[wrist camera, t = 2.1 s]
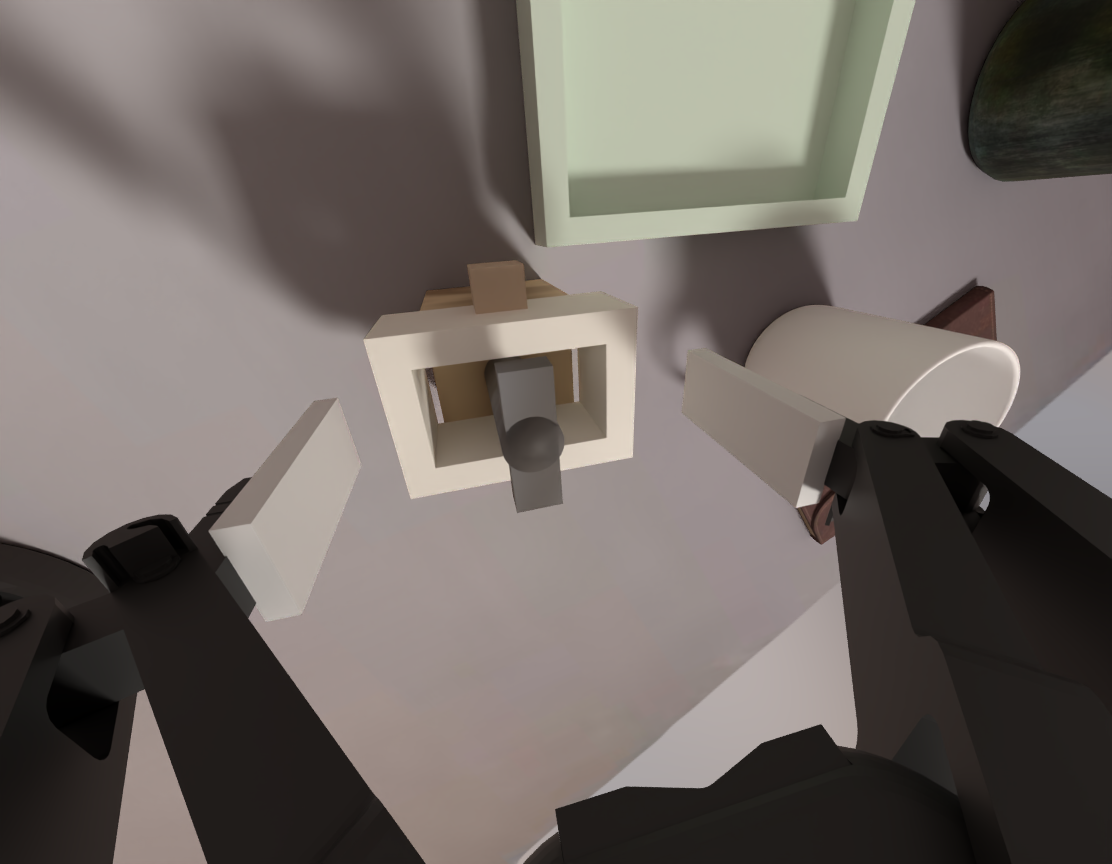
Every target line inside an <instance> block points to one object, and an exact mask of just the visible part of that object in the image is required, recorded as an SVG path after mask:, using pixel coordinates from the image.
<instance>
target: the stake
mask: <svg viewBox="0 0 1112 864" xmlns="http://www.w3.org/2000/svg"><path fill="white" fill-rule="evenodd" d="M525 285H526V295H527V299H536V298H545V297H554V296H564V295H568V294H566V293H565V292H563V291H561V290H560V289H558V288H556V287H554V286H553V285H551V284H549V283H547V282H546V281H544V280H542V279H538V280H528V281H525ZM471 305H473V300H472V294H471V288H470V286H467V287H457V288H447V289H437V290H427V291H426V294H425V297H424V300H423V303H422V306H421V309H420V311H425V310H434V309H443V308H453V307H462V306H471ZM432 369H433V373H434V378H435V382H436V387H437V391H438V396H439V400H440V405H441V409H442V414H443V418H444V423H446V422H452V421H459V420H465V419H471V418H478V417H484V416H490V415H494V419H495V423H496V428H497V432H498V436H499V441H500V445H501V449H502V453H503V456H504V459H505V460H506V462H507V463H508V464H509V470H510V477H511V484H512V491H513V497H514V501H515V505H516V510H517V513H519V512H524V511H529V510H534V509H538V508H543V507H548V506H553V505H558V504H563V500H562V486H561V472H560V456H561V454H562V452H563V449H564V435H563V432H562V430H561V428H560V426H559V425H558V423H557V414H556V405H560V404H566V403H573V402H574V395H573V373H572V351H571V349H566V350H558V351H551V352H543V353H536V354H528V355H521V356H513V357H506V358H498V359H491V360H483V361H476V362H468V363H461V364H453V365H446V366H438V367H432Z"/></svg>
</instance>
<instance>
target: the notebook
mask: <svg viewBox="0 0 1112 864" xmlns="http://www.w3.org/2000/svg"><path fill="white" fill-rule="evenodd" d="M924 326H928V327H933V328H938V329H943V330H947V331H952V332H957V333H961V334H966V335H971V336H976V337H980V338H985V339H990V340H995V341H997V337H996V318H995V299H994V291H993V290H991V289H990V288H987V287H984V286H976V287H975V288H973V289H972V290H971V291H969V292H968V293H967V294H965V295H964V296H963V297H961V298H960V299H958V300H957V301H956V302H954V303H953V304H952V305H950V306H949V307H948V308H946V309H945V310H944V311H942V312H941V313H940V314H938V315H937V316H935V317H934V318H933V319H931V320H930V321H929V322H927V323H926V324H925V325H924ZM835 493H836V492H834V491H833V490H832V489H830V488H829V487H827V486H826V485H825V486H824V489H823V492H822V495H821V498H820V501H819V503H816V504H812V505H807V506H803V507H798V508H797V509H798V511H799V512H800V514H801V516H802V518H803V520H804V522H805V524H806V526H807V528H808V530H809V532H810V533H811V535H810V536H811V537H812V538H813V539H814V540H815V541H817V542H818V543H820V544H823V543H825V542H826V541H828V540H829V539H830V538H832V537H833V536H835V528H834V521H831V523H830V525H829V526H827V525H825V522H826V519H827V516H828V513H829V510H830V507H831V504H832V501H833V498H834V496H835Z"/></svg>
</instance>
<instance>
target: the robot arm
mask: <svg viewBox="0 0 1112 864" xmlns="http://www.w3.org/2000/svg"><path fill="white" fill-rule="evenodd" d="M682 413H683V414H684V415H685V416H686V417H687V418H689V419H690V420H691V421H692V422H693V423H695V424H696V425H697V426H698V427H699V428H701V429H702V430H703V431H704V432H705V433H707V434H708V435H709V436H710V437H711V438H713V439H714V440H715V441H716V442H717V443H719V444H720V445H721V446H722V447H723V448H725V449H726V450H727V451H728V452H729V453H731V454H732V455H733V456H734V457H735V458H737V459H738V460H739V461H740V462H741V463H743V464H744V465H745V466H746V467H747V468H749V469H750V470H751V471H752V472H753V473H755V474H756V475H757V476H758V477H759V478H760V479H762V480H763V481H764V482H765V483H766V484H768V485H769V486H770V487H771V488H772V489H774V490H775V491H776V492H777V493H778V494H780V495H781V496H782V497H783V498H784V499H786V500H787V501H788V502H789V503H790V504H792V505H793V506H794V507H795V508H798V507H803V506H807V505H812V504H816V503H819V501H820V498H821V495H822V492H823V489H824V486H825V485H826V486H827V487H829V488H830V489H832V490H833V491H834V492H836V493H835V496H834V498H833V501H832V504H831V507H830V510H829V513H828V516H827V519H826V522H825V525H827V526H829V525H830V523H831V521H834V528H835V537H836V545H837V554H838V563H839V571H840V580H841V588H842V597H843V605H844V614H845V622H846V630H847V640H848V648H849V657H850V665H851V674H852V682H853V691H854V699H855V708H856V717H857V727H858V737H857V745H856V749H853V748H847V747H842V746H837V745H836V744H835V742H834V741H833V740H832V738H831V737H830V736H829V734H828V733H827V731H826V730H825V729H824V727H823V726H822V725H817V726H814V727H811V728H808V729H805V730H801V731H799V732H796V733H792V734H789V735H786V736H783V737H780V738H776V739H773V740H770V741H767V742H764V743H761V744H760V745H759V746H758V747H757V748H756V749H754V750H753V751H752V752H750V754H748V755H747V756H746V757H745V758H743V759H742V760H741V761H740V762H739V763H737V764H736V765H735V766H734V767H732V768H731V769H730V770H729V771H728V772H726V773H725V774H724V775H723V776H722V777H720V778H719V779H718V780H717V781H715V782H714V783H713V784H712V785H710V786H708V787H705V788H662V787H623V788H620V789H617V790H614V791H611V792H608V793H605V794H601V795H598V796H595V797H592V798H589V799H586V800H583V801H580V802H576V803H573V804H570V805H567V806H564V807H561V808H558V809H555V811H556V818H557V824H558V830H559V833H558V832H557V833H556V834H554V835H553V836H552V837H550V838H549V839H548V840H546V841H545V842H544V843H542V844H541V846H540V847H539V848H538V849H536V851H535V852H534V853H533V854H532V855H531V856H530V857H529V858H528V859H527V860H526V861H525V862H524V863H523V864H1112V499H1111V498H1110V497H1108V496H1107V495H1105V494H1104V493H1102V492H1100V491H1099V490H1098V489H1096V488H1094V487H1093V486H1091V485H1090V484H1088V483H1087V482H1085V481H1084V480H1082V479H1081V478H1079V477H1078V476H1076V475H1075V474H1073V473H1071V472H1070V471H1068V470H1067V469H1065V468H1064V467H1062V466H1061V465H1059V464H1058V463H1056V462H1055V461H1053V460H1052V459H1050V458H1048V457H1047V456H1045V455H1044V454H1042V453H1041V452H1039V451H1037V450H1036V449H1034V448H1033V447H1032V446H1030V445H1029V444H1027V443H1025V442H1024V441H1022V440H1021V439H1019V438H1018V437H1016V436H1015V435H1013V434H1012V433H1010V432H1008V431H1006V430H1004V429H1002V428H999V427H996V426H993V425H992V424H990V423H987V422H981V421H977V420H972V421H968V420H952V421H949V422H946V424H945V426H944V428H943V430H942V432H941V434H940V437H920V435H919V434H918V433H917V432H916V431H914V430H912V429H911V428H908V427H906V426H903V425H900V424H897V423H893V422H887V421H877V420H870V421H864V422H861V423H857V422H855V421H853V420H850V419H848V418H846V417H844V416H842V415H840V414H838V413H836V412H834V411H832V410H830V409H828V408H825V407H824V406H822V405H820V404H818V403H815V402H814V401H812V400H810V399H808V398H806V397H804V396H802V395H799V394H797V393H795V392H793V391H791V390H789V389H787V388H785V387H783V386H781V385H779V384H777V383H775V382H773V381H771V380H769V379H767V378H765V377H763V376H761V375H759V374H757V373H755V372H753V371H751V370H749V369H747V368H745V367H743V366H741V365H739V364H737V363H735V362H732V361H730V360H728V359H726V358H724V357H722V356H720V355H718V354H716V353H714V352H712V351H710V350H708V349H706V348H702V349H695V350H688V355H687V365H686V375H685V385H684V396H683V406H682ZM360 467H361V462H360V459H359V456H358V453H357V451H356V448H355V445H354V442H353V439H352V437H351V434H350V431H349V428H348V425H347V422H346V420H345V417H344V414H343V411H342V408H341V406H340V403H339V400H338V398H333V399H325V400H318V401H314V402H313V403H312V404H311V405H310V407H309V408H308V409H307V410H306V411H305V413H304V414H303V415H302V416H301V418H300V419H299V420H298V421H297V423H296V424H295V425H294V426H293V427H292V429H291V430H290V431H289V432H288V434H287V435H286V436H285V437H284V439H283V440H282V441H281V442H280V443H279V445H278V446H277V447H276V448H275V450H274V451H273V452H272V453H271V455H270V456H269V457H268V458H267V459H266V461H265V462H264V463H263V464H262V466H261V467H260V468H259V469H258V471H257V472H256V473H255V474H254V475H253V477H250V478H244V479H243V480H241V481H240V482H238V483H237V484H236V485H234V486H233V487H231V488H230V489H228V490H227V491H226V492H225V493H224V494H223V495H222V497H221V498H220V499H219V500H218V501H217V502H216V503H215V504H216V506H213V507H212V508H211V509H210V510H209V512H208V513H207V514H206V517H203V518H202V520H201V521H200V522H199V523H198V524H197V525H196V527H195V528H194V529H193V530H192V531H191V532H190V533H189V534H188V533H187V531H186V530H185V528H184V527H183V525H182V524H181V522H180V521H179V519H178V518H177V517H175V516H173V515H155V516H151V517H146V518H142V519H139V520H137V521H134V522H131V523H128V524H126V525H124V526H122V527H120V528H118V529H115V530H113V531H111V532H109V533H108V534H106V535H105V536H103V537H102V538H100V539H99V540H97V541H96V542H94V543H93V544H92V545H91V546H90V547H89V548H88V549H87V550H86V551H85V552H84V555H83V558H82V561H83V562H84V563H85V564H86V566H87V567H88V568H89V569H90V570H91V571H92V572H93V574H94V575H93V574H91V573H90V572H88V571H86V570H84V569H81V568H79V567H77V566H75V565H73V564H70V563H68V562H65V561H63V560H60V559H57V558H54V557H52V556H48V555H45V554H42V553H39V552H35V551H31V550H28V549H23V548H19V547H15V546H10V545H4V544H0V864H113V857H114V850H115V843H116V836H117V829H118V822H119V815H120V808H121V801H122V794H123V788H124V781H125V774H126V767H127V760H128V753H129V746H130V739H131V732H132V725H133V718H134V711H135V704H136V697H137V692H139V691H141V690H144V689H145V691H146V694H147V696H148V699H149V702H150V705H151V707H152V710H153V713H154V716H155V719H156V721H157V724H158V727H159V730H160V733H161V735H162V738H163V741H164V744H165V747H166V749H167V752H168V755H169V758H170V760H171V763H172V766H173V769H174V772H175V774H176V777H177V780H178V783H179V786H180V788H181V791H182V794H183V797H184V800H185V802H186V805H187V808H188V811H189V813H190V816H191V819H192V822H193V825H194V827H195V830H196V833H197V836H198V839H199V841H200V844H201V847H202V850H203V852H204V855H205V858H206V861H207V864H425V862H424V861H423V859H422V858H421V857H420V855H419V854H418V852H417V851H416V850H415V848H414V847H413V845H412V844H411V843H410V841H409V840H408V839H407V837H406V836H405V834H404V833H403V832H402V830H401V829H400V827H399V826H398V825H397V823H396V822H395V820H394V819H393V818H392V816H391V815H390V814H389V812H388V811H387V809H386V808H385V807H384V805H383V804H382V803H381V802H380V800H379V799H378V798H377V797H376V796H375V795H374V794H373V792H372V791H371V790H370V788H369V787H368V785H367V784H366V783H365V781H364V780H363V778H362V777H361V776H360V774H359V773H358V771H357V770H356V769H355V767H354V766H353V764H352V763H351V762H350V760H349V759H348V757H347V756H346V755H345V753H344V752H343V750H342V749H341V748H340V746H339V745H338V743H337V742H336V741H335V739H334V738H333V736H332V735H331V734H330V732H329V731H328V729H327V728H326V727H325V725H324V724H323V723H322V721H321V720H320V718H319V717H318V716H317V714H316V713H315V711H314V710H313V709H312V707H311V706H310V704H309V703H308V702H307V700H306V699H305V697H304V696H303V695H302V693H301V692H300V690H299V689H298V688H297V686H296V685H295V683H294V682H293V681H292V679H291V678H290V676H289V675H288V674H287V672H286V671H285V669H284V668H283V667H282V665H281V664H280V662H279V661H278V660H277V658H276V657H275V655H274V654H273V653H272V651H271V650H270V648H269V647H268V646H267V644H266V643H265V641H264V640H263V639H262V637H261V636H260V634H259V633H258V632H257V630H256V629H255V627H254V626H253V625H252V623H251V622H250V621H249V619H248V618H249V616H250V614H251V612H252V610H253V608H254V606H255V605H256V607H257V609H258V610H259V612H260V613H261V615H262V616H263V618H264V620H265V621H266V622H269V621H273V620H278V619H283V618H287V617H292V616H297V615H301V614H302V613H303V611H304V608H305V606H306V603H307V601H308V598H309V596H310V593H311V590H312V588H313V585H314V583H315V580H316V578H317V575H318V573H319V570H320V568H321V565H322V563H323V560H324V558H325V555H326V553H327V550H328V548H329V545H330V543H331V540H332V538H333V535H334V533H335V530H336V528H337V525H338V523H339V520H340V518H341V515H342V513H343V510H344V508H345V505H346V503H347V500H348V498H349V495H350V493H351V490H352V487H353V485H354V482H355V480H356V477H357V475H358V472H359V470H360ZM987 491H989V494H990V502H989V505H988V507H987V509H986V511H984V510H983V509H982V508H981V507H980V506H979V505H980V503H981V502H982V500H983V498H984V496H985V494H986V493H987ZM559 837H560V838H559Z"/></svg>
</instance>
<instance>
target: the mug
mask: <svg viewBox="0 0 1112 864" xmlns="http://www.w3.org/2000/svg"><path fill="white" fill-rule="evenodd" d="M745 368H747V369H749V370H751V371H753V372H755V373H757V374H759V375H761V376H763V377H765V378H767V379H769V380H771V381H773V382H775V383H777V384H779V385H781V386H783V387H785V388H787V389H789V390H791V391H793V392H795V393H797V394H799V395H802V396H804V397H806V398H808V399H810V400H812V401H814V402H815V403H818V404H820V405H822V406H824V407H825V408H828V409H830V410H832V411H834V412H836V413H838V414H840V415H842V416H844V417H846V418H848V419H850V420H853V421H855V422H857V423H861V422H864V421H870V420H877V421H887V422H893V423H897V424H900V425H903V426H906V427H908V428H911V429H912V430H914V431H916V432H917V433H918V434H919V435H920V437H940V434H941V432H942V430H943V428H944V426H945V424H946V422H949V421H952V420H968V421H972V420H977V421H981V422H987V423H990V424H992V425H993V426H996V427H999V426H1000V424H1001V423H1002V421H1003V420H1004V418H1005V416H1006V415H1007V413H1008V411H1009V409H1010V407H1011V405H1012V403H1013V401H1014V398H1015V395H1016V392H1017V389H1018V385H1019V380H1020V364H1019V360H1018V357H1017V355H1016V353H1015V352H1014V351H1013V350H1012V349H1011V348H1010V347H1009V346H1007V345H1006V344H1004V343H1002V342H998V341H995V340H990V339H985V338H980V337H976V336H971V335H966V334H961V333H957V332H952V331H947V330H943V329H938V328H933V327H928V326H924V325H919V324H914V323H909V322H905V321H900V320H895V319H891V318H886V317H881V316H876V315H872V314H867V313H862V312H857V311H853V310H848V309H843V308H838V307H833V306H826V305H807V306H803V307H799V308H797V309H794V310H791V311H789V312H787V313H785V314H783V315H782V316H780V317H779V318H777V319H776V320H775V321H774V322H772V323H771V324H770V325H769V326H768V327H767V328H766V329H765V330H764V331H763V332H762V334H761V335H760V336H759V337H758V339H757V340H756V342H755V343H754V345H753V347H752V348H751V350H750V353H749V355H748V357H747V360H746V363H745Z"/></svg>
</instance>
